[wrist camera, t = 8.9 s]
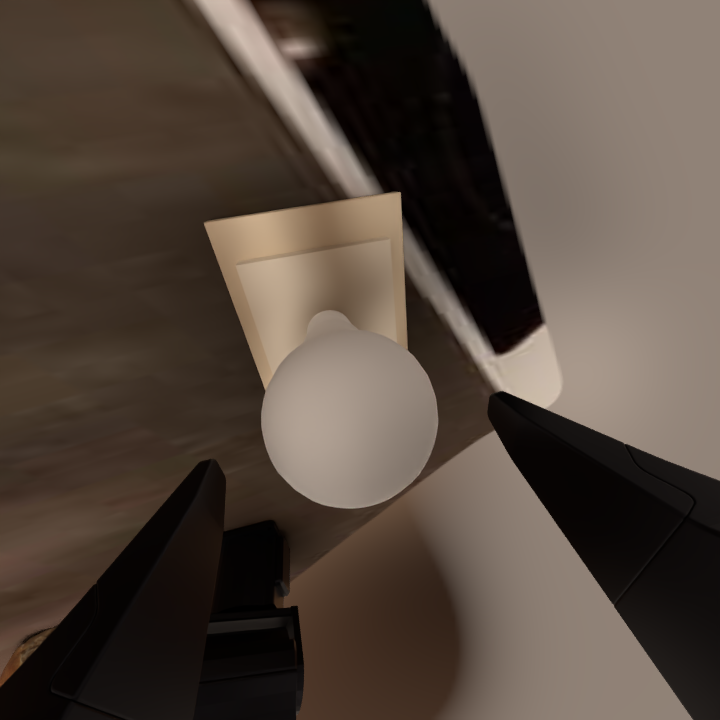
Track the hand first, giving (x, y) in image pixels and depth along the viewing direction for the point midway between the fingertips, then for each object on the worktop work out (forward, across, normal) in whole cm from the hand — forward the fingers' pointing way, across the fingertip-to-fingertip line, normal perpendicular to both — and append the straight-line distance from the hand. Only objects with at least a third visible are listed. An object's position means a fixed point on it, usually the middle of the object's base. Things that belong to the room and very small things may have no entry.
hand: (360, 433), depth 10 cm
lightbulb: (+9, 0, 0) cm, 9 cm away
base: (+11, 0, 0) cm, 11 cm away
